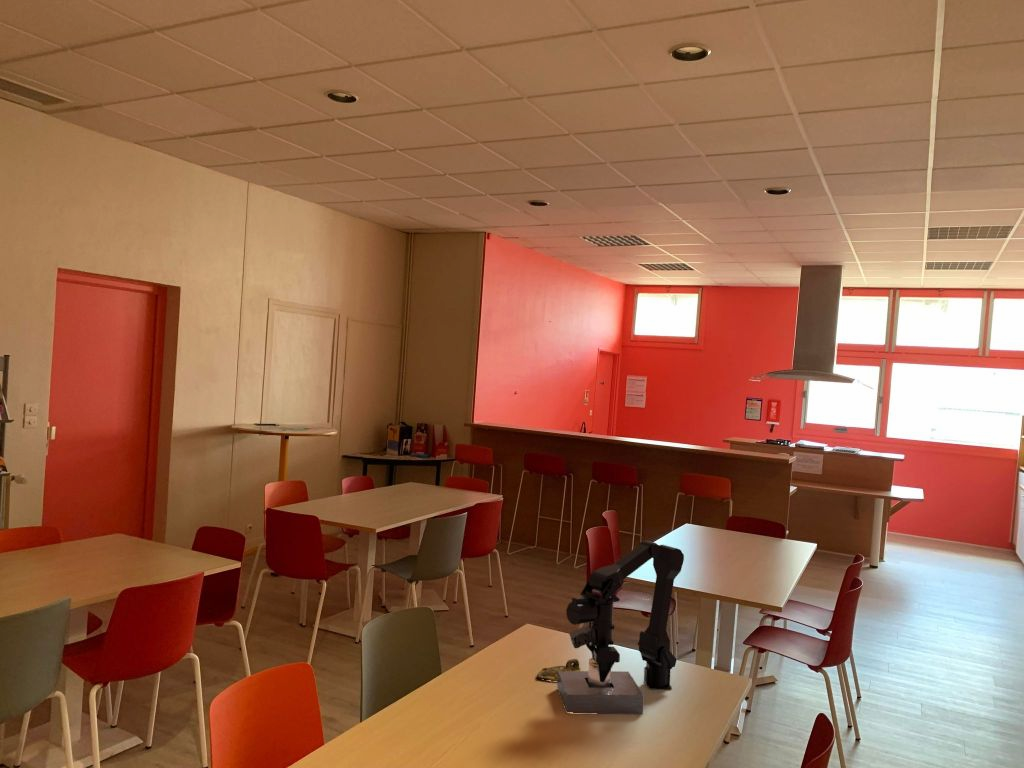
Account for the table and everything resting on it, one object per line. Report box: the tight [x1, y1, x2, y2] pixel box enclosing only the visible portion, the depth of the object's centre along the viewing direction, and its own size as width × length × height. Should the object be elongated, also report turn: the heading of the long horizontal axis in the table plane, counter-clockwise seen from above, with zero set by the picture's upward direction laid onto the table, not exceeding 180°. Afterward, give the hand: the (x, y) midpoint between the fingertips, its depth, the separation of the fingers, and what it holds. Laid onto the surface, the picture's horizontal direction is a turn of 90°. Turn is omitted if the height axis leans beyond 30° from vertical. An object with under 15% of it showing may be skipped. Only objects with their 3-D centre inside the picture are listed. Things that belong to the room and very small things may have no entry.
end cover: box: [588, 657, 612, 688], centre depth 202 cm, size 6×6×8 cm
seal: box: [536, 658, 582, 681], centre depth 219 cm, size 9×5×15 cm
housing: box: [556, 670, 644, 715], centre depth 202 cm, size 20×16×5 cm
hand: (599, 677), depth 202 cm, fingers closed on end cover, 6 cm apart
